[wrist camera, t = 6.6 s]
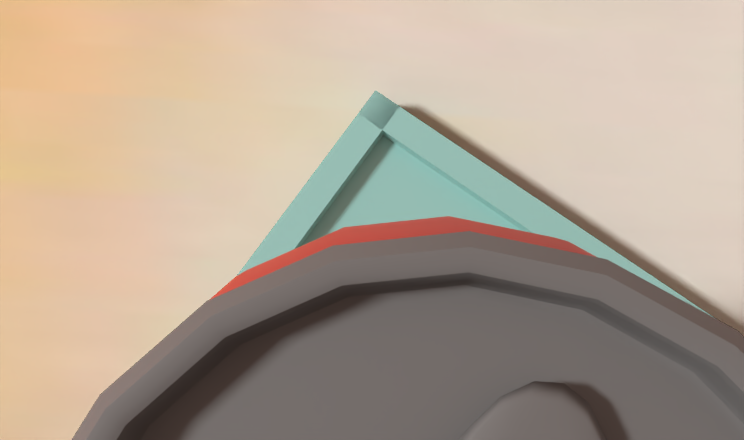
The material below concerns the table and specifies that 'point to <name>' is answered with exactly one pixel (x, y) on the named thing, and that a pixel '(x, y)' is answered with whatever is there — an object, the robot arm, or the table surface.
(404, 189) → the tray
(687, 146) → the table surface
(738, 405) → the beer can
